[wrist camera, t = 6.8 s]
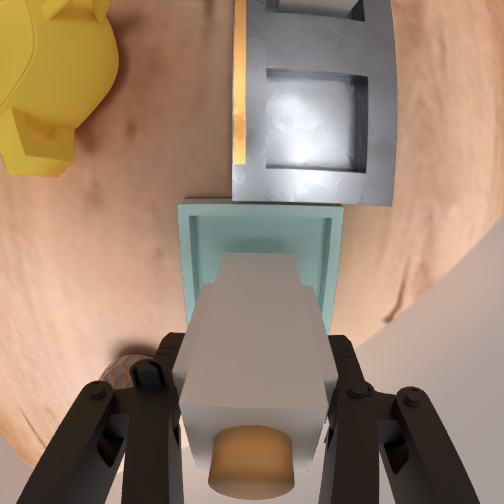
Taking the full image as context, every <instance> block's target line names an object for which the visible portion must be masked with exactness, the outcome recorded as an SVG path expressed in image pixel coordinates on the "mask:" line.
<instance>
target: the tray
mask: <svg viewBox="0 0 504 504" xmlns="http://www.w3.org/2000/svg"><path fill="white" fill-rule="evenodd" d="M177 211H178V228H179V242H180V255H181V267H182V278H183V289H184V299H185V308H186V317H187V325H189V322H190V319H191V316H192V314H193V311H194V308H195V305H196V303H197V300H198V297H199V294H200V292H201V289H202V286H203V284H204V283H209V284H214V281H215V278H216V275H217V272H218V269H219V265H220V262H221V259H222V256H223V253H224V252H228V253H291V254H294V255H295V259H296V263H297V267H298V271H299V275H300V279H301V283H302V285H313V288H314V291H315V295H316V298H317V301H318V305H319V308H320V312H321V315H322V318H323V322H324V325H325V329H326V332H327V335H329V330H330V324H331V317H332V310H333V304H334V296H335V289H336V281H337V273H338V265H339V256H340V246H341V236H342V225H343V213H344V207H343V206H342V205H341V204H340V203H316V202H282V201H232V198H185V199H184V200H182V201H181V202H180V203H179V204H177Z"/></svg>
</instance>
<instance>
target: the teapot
mask: <svg viewBox="0 0 504 504" xmlns="http://www.w3.org/2000/svg"><path fill="white" fill-rule="evenodd" d="M110 2H111V0H0V154H1V155H3V159H4V162H5V165H6V168H7V171H8V174H11V175H31V176H48V177H58V176H59V175H60V174H61V173H62V172H63V171H64V170H65V169H67V168H68V167H69V166H70V165H71V164H72V163H74V137H75V129H76V128H77V127H78V126H79V125H80V124H81V123H82V122H83V121H84V120H85V119H86V118H87V117H88V116H89V115H90V114H91V113H92V112H93V111H94V110H95V108H96V107H97V106H98V105H99V104H100V102H101V101H102V100H103V99H104V97H105V96H106V95H107V93H108V92H109V91H110V89H111V87H112V85H113V83H114V81H115V79H116V76H117V72H118V67H119V54H118V49H117V44H116V40H115V37H114V33H113V30H112V27H111V25H110V23H109V21H108V19H107V17H106V15H107V12H108V9H109V5H110Z"/></svg>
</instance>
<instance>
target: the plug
mask: <svg viewBox="0 0 504 504" xmlns="http://www.w3.org/2000/svg"><path fill="white" fill-rule="evenodd" d="M179 406H180V410H181V414H182V418H183V422H184V426H185V430H186V434H187V437H188V441H189V445H190V448H191V452H192V455H193V458H194V462H195V465H196V468H197V469H201V470H210V472H209V479H208V484H209V486H210V487H211V488H212V489H214V490H215V491H216V492H218V493H220V494H223V495H225V496H229V497H233V498H238V499H246V500H262V499H270V498H275V497H278V496H281V495H284V494H286V493H288V492H289V491H291V490H292V489H293V487H294V473H297V472H309V469H310V466H311V463H312V460H313V457H314V454H315V451H316V447H317V445H318V441H319V438H320V435H321V431H322V428H323V424H324V421H325V417H326V414H327V410H328V401H327V396H326V392H325V387H324V382H323V377H322V372H321V367H320V363H319V358H318V353H317V349H316V344H315V340H314V335H313V331H312V326H311V322H310V317H309V313H308V309H307V304H306V300H305V296H304V292H303V288H302V283H301V279H300V275H299V271H298V267H297V263H296V259H295V255H294V254H291V253H228V252H224V253H223V256H222V259H221V262H220V265H219V269H218V272H217V275H216V278H215V281H214V285H213V288H212V291H211V294H210V298H209V301H208V304H207V308H206V311H205V314H204V318H203V321H202V324H201V328H200V331H199V334H198V338H197V341H196V344H195V348H194V351H193V355H192V358H191V362H190V365H189V368H188V372H187V375H186V379H185V382H184V386H183V389H182V393H181V397H180V400H179Z"/></svg>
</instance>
